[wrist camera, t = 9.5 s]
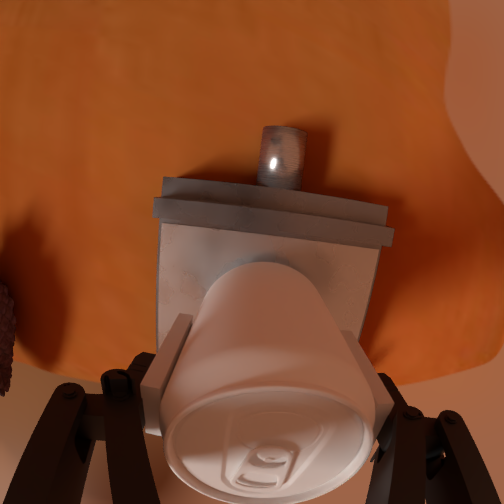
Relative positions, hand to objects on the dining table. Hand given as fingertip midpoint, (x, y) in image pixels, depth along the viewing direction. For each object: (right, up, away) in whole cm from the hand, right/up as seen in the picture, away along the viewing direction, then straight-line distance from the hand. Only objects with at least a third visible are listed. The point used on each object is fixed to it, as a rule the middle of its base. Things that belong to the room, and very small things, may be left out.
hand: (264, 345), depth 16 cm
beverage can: (0, +1, +4) cm, 4 cm away
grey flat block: (0, +2, +7) cm, 7 cm away
